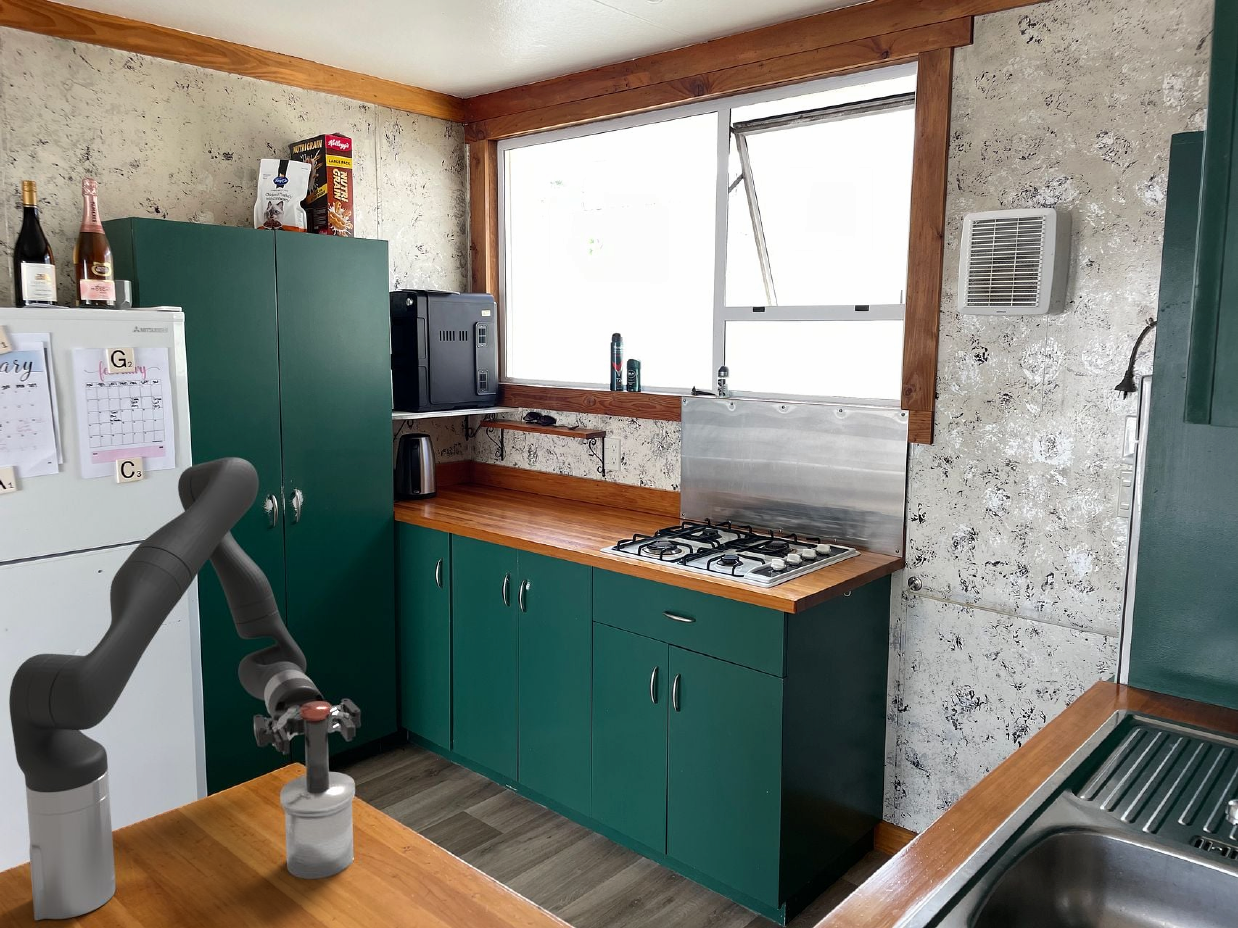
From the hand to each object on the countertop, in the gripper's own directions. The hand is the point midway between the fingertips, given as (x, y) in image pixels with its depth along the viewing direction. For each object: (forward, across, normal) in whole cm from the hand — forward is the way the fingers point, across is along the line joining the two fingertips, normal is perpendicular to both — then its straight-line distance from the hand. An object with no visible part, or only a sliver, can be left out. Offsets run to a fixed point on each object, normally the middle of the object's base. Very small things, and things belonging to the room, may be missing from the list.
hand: (318, 740), depth 129 cm
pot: (-1, 0, +18) cm, 19 cm away
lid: (-1, 0, +9) cm, 9 cm away
